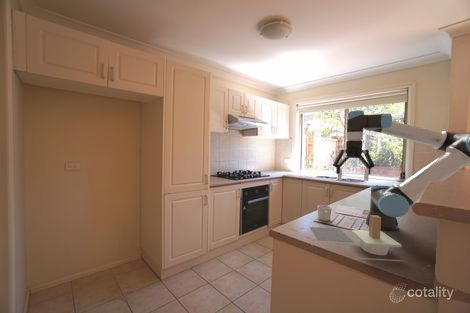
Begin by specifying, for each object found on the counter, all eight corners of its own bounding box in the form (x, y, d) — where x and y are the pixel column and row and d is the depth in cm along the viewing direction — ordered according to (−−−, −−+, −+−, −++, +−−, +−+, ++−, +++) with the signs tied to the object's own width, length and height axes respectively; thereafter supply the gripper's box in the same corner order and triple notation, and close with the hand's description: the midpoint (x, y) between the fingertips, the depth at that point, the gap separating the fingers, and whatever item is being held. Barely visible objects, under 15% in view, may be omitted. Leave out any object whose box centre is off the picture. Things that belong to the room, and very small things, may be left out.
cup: (333, 224, 120) (334, 210, 120) (319, 223, 122) (319, 209, 122) (329, 218, 131) (329, 205, 131) (315, 217, 133) (316, 204, 132)
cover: (381, 233, 96) (382, 211, 95) (401, 247, 83) (402, 222, 82) (351, 232, 97) (352, 210, 97) (366, 245, 84) (367, 221, 84)
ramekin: (356, 242, 98) (357, 231, 98) (385, 247, 94) (386, 235, 93) (361, 254, 87) (361, 242, 87) (393, 260, 83) (394, 247, 83)
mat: (339, 229, 113) (340, 228, 113) (353, 243, 97) (353, 242, 97) (309, 227, 115) (309, 227, 115) (317, 241, 99) (317, 240, 99)
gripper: (375, 140, 113) (373, 179, 115) (327, 140, 116) (326, 178, 117) (383, 140, 106) (381, 182, 107) (332, 140, 109) (330, 180, 110)
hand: (352, 180), depth 112 cm, fingers open, 13 cm apart
